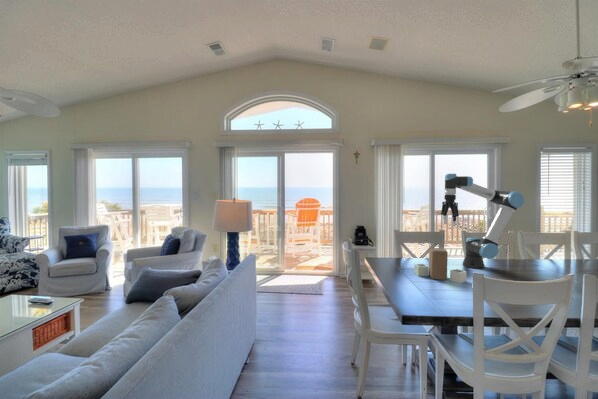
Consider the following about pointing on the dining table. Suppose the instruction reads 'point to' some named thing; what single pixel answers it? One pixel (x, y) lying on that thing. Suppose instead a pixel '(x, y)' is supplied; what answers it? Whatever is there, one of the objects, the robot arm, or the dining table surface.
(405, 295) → the dining table surface
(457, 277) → the cream labelled cube
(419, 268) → the sage labelled cube
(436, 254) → the wooden block
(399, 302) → the dining table surface
